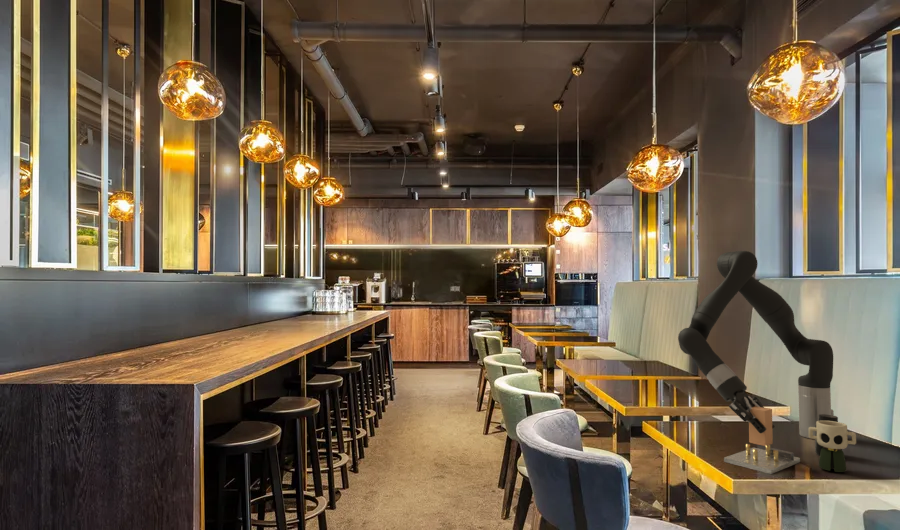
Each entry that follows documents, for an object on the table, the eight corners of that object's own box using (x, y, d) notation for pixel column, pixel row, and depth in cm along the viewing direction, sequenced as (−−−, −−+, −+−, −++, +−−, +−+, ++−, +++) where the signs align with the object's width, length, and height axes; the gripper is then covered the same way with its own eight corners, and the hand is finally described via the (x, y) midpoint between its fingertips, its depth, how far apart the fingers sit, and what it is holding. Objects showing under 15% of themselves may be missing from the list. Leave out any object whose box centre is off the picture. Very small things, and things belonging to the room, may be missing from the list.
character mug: (808, 469, 153) (807, 422, 153) (809, 463, 158) (808, 418, 159) (857, 477, 146) (855, 428, 147) (856, 470, 152) (855, 423, 153)
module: (756, 440, 163) (756, 406, 163) (772, 443, 159) (772, 409, 160) (749, 442, 160) (748, 408, 161) (765, 446, 157) (764, 410, 157)
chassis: (753, 451, 170) (753, 437, 170) (799, 462, 160) (799, 447, 160) (723, 461, 160) (723, 447, 160) (771, 474, 149) (770, 458, 149)
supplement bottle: (834, 460, 162) (833, 419, 162) (810, 454, 168) (809, 414, 168) (847, 457, 165) (846, 416, 165) (823, 451, 171) (822, 412, 171)
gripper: (722, 376, 162) (765, 426, 152) (746, 373, 171) (788, 419, 161) (705, 391, 167) (746, 441, 156) (729, 387, 175) (769, 434, 165)
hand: (767, 430), depth 158 cm, fingers closed on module, 4 cm apart
